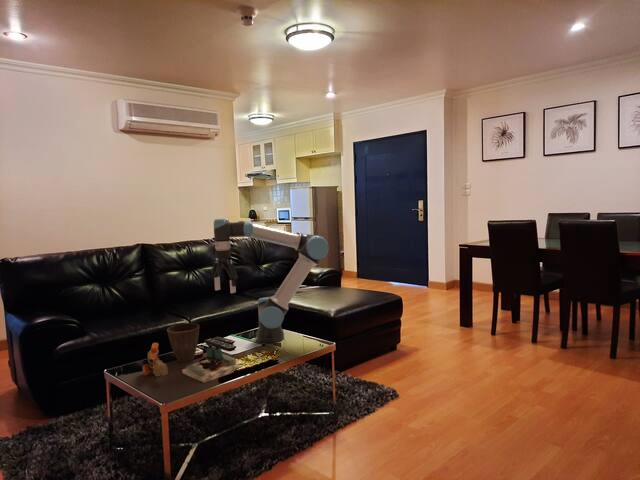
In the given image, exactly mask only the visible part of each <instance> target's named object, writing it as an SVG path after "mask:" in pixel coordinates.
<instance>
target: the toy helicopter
mask: <svg viewBox="0 0 640 480" xmlns="http://www.w3.org/2000/svg"><path fill="white" fill-rule="evenodd" d="M158 355H159V343H158V342H153V343H152V345H151V348H150V350H149V351H148V352H147V362H148V363H146V364H143V365H142V372H143V375H144V376H149V375H150V373H151V372H152V374H154V376H155V378H158V377H161V376H166V375H168V373H169V370H168V365H167V364H166V363H165V362H163V360H161V359H160V358H159V356H158Z"/></svg>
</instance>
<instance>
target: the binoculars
mask: <svg viewBox="0 0 640 480" xmlns="http://www.w3.org/2000/svg"><path fill="white" fill-rule="evenodd" d="M220 345H221V344H220V343H218V344H215V345H214V346H213V343H212V342H207V347H206V355H205V356H204V357H202V358H201V359H199V361H198V362H199V364H200V365H202V368H203V369H208V368H209V367H210V370H215V369H217V367H218V366H219V367H221V366H223V363H222V362H223V356H222V355H223V352H222V348H221V347H220ZM206 360H208V361H210V363H200V362H202V361H206ZM216 363H218V364H216ZM210 365H212V366H210Z"/></svg>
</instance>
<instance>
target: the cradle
mask: <svg viewBox="0 0 640 480" xmlns="http://www.w3.org/2000/svg"><path fill="white" fill-rule="evenodd" d="M222 356H223V362H222V363H223V366H221V367H219V366H218V367H217V369H215V370H210V367H209V368H208V369H203V368H202V365H200V364H199V361H198V362H195V363H192V364H189V365H186V368H184V369H181V371H182V374H184V375H186V376H188V377H190V378H193V379H195V380H197V381H199V382H201V383H203V384H204V383H208V382H210V381H214V380H216V379H218V378H222V377H224V376H227V375H230V374H232V373H235V372H234V371H235V370H237V369H239V368H241V369H242V366H241V365H239V364H237V360H236V358H234V357H231V356H228V355H226V354H222ZM200 363H210V361H208V360H207V359H206V361H205V360H203V361H201V362H200ZM216 364H218V363H216ZM210 366H212V365H210Z"/></svg>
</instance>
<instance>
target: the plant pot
mask: <svg viewBox="0 0 640 480" xmlns="http://www.w3.org/2000/svg"><path fill="white" fill-rule="evenodd" d="M166 332H167V335H168V336H167V337H168V339H169V344H170V346H171V349H172V352H173V353H174V356H175V358H176V359H177V362H179V363H187V362H190V361H193V360H194V358H195V356H196V351H197V348H198V342H199V334H200V324H198V323H192V322H191V323H181V324H176V325H171V326H170V327H168V328H166Z"/></svg>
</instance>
